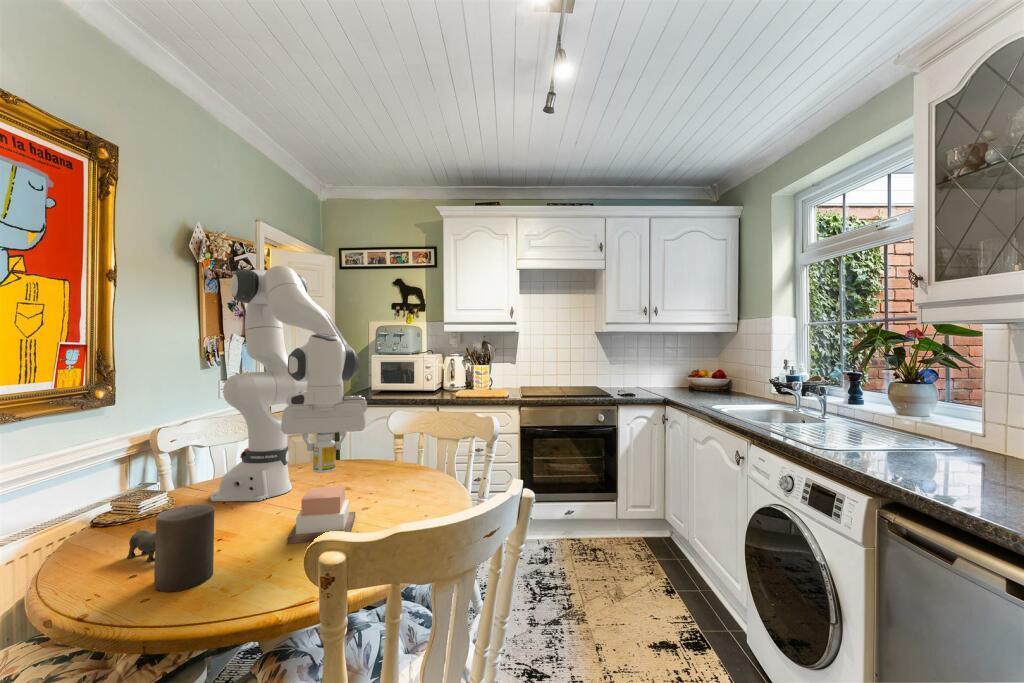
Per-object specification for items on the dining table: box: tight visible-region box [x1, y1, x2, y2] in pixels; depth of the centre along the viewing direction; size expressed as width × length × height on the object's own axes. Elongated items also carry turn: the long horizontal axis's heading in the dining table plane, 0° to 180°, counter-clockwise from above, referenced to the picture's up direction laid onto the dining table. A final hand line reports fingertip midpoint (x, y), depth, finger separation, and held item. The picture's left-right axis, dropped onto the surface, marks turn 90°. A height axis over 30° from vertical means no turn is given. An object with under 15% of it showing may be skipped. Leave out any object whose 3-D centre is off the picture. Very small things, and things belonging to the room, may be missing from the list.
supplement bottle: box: [312, 432, 337, 474], centre depth 115 cm, size 5×5×10 cm
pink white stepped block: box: [295, 485, 350, 534], centre depth 115 cm, size 11×11×8 cm
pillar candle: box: [153, 503, 215, 593], centre depth 90 cm, size 10×10×15 cm
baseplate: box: [286, 511, 356, 545], centre depth 115 cm, size 14×14×2 cm
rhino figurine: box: [126, 529, 156, 563], centre depth 99 cm, size 4×14×6 cm, turn 76°
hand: (324, 449), depth 115 cm, fingers closed on supplement bottle, 5 cm apart
